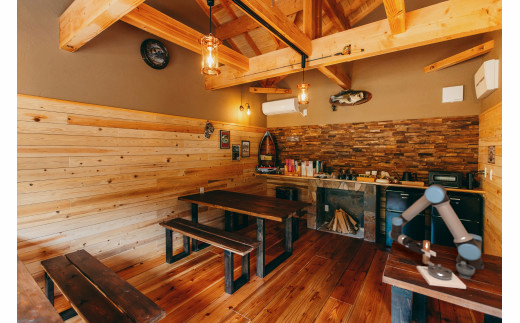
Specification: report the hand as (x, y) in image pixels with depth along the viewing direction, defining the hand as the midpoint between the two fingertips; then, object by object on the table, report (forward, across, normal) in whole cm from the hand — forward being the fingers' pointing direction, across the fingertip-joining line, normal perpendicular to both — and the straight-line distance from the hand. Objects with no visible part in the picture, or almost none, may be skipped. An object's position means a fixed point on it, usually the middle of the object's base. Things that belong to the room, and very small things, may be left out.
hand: (432, 255), depth 162 cm
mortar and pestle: (+8, -17, -13) cm, 23 cm away
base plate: (+6, 0, -13) cm, 14 cm away
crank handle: (+3, 0, -11) cm, 11 cm away
